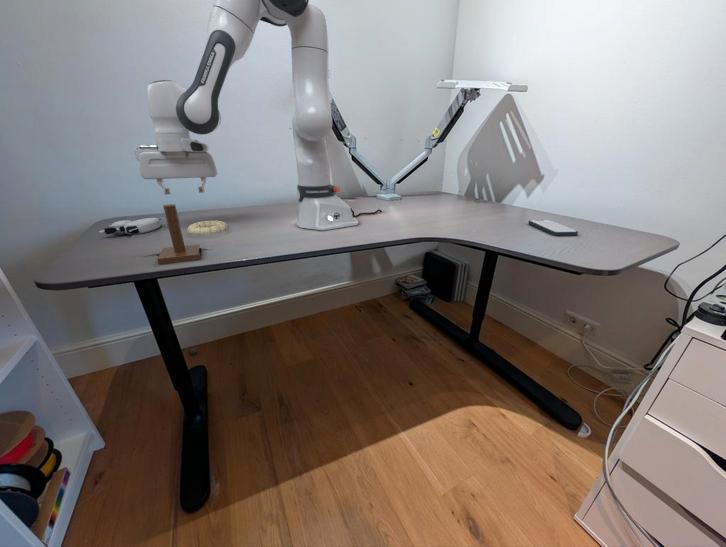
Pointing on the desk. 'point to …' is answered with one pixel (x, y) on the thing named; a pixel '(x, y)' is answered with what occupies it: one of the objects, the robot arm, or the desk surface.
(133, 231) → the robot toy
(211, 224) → the cream ring
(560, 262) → the desk surface
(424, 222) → the desk surface
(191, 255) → the stand
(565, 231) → the phone case
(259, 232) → the desk surface
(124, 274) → the desk surface
